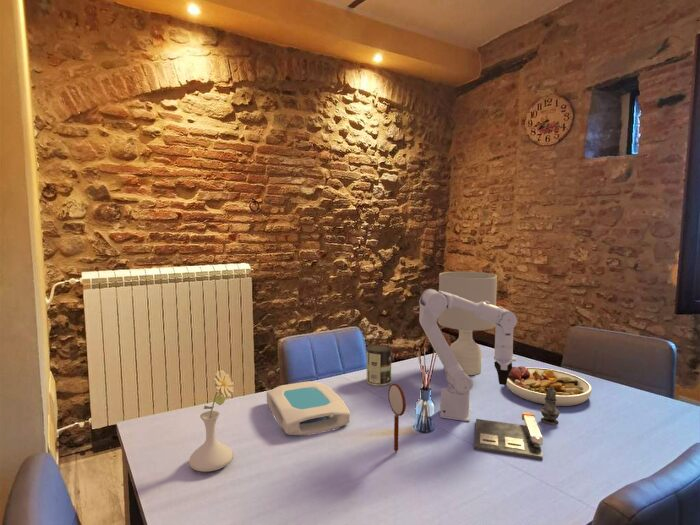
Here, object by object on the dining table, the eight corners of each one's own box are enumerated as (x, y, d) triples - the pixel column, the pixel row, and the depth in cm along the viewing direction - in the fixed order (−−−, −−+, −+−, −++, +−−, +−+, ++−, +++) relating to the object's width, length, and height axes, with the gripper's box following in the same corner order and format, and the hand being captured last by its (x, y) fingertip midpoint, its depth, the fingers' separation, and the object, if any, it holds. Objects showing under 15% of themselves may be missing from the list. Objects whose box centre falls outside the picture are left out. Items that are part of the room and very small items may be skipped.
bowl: (593, 388, 170) (594, 369, 169) (587, 417, 144) (589, 394, 144) (513, 374, 186) (514, 356, 185) (496, 397, 160) (497, 377, 160)
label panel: (474, 449, 123) (474, 442, 123) (476, 421, 140) (476, 416, 140) (542, 460, 118) (542, 453, 118) (535, 429, 135) (535, 424, 135)
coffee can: (390, 376, 181) (390, 344, 180) (392, 386, 171) (392, 351, 169) (365, 376, 181) (366, 344, 180) (366, 386, 171) (366, 351, 170)
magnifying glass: (386, 446, 125) (386, 379, 123) (391, 445, 125) (392, 378, 124) (401, 461, 117) (402, 390, 115) (406, 460, 117) (407, 389, 116)
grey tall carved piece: (561, 426, 137) (563, 389, 136) (542, 424, 139) (543, 388, 137) (556, 418, 143) (558, 383, 142) (538, 416, 144) (539, 381, 143)
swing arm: (521, 417, 139) (521, 411, 139) (533, 418, 138) (533, 413, 138) (531, 445, 122) (531, 438, 121) (544, 446, 121) (545, 440, 121)
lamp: (484, 384, 173) (488, 279, 169) (428, 372, 186) (430, 275, 182) (499, 367, 193) (503, 273, 189) (448, 358, 206) (450, 270, 202)
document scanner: (286, 440, 129) (286, 420, 128) (266, 404, 154) (265, 387, 154) (351, 426, 137) (351, 408, 137) (321, 394, 163) (321, 378, 162)
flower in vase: (208, 481, 108) (205, 385, 105) (179, 467, 114) (176, 376, 111) (246, 457, 119) (244, 369, 116) (218, 446, 125) (216, 362, 122)
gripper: (518, 352, 136) (516, 393, 137) (515, 340, 150) (514, 377, 151) (494, 350, 138) (493, 390, 139) (493, 338, 152) (492, 375, 153)
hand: (502, 383), depth 145 cm, fingers closed
